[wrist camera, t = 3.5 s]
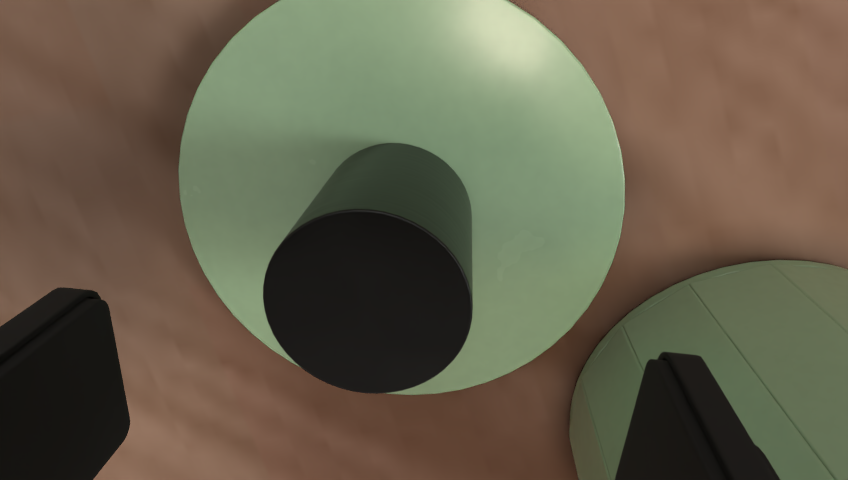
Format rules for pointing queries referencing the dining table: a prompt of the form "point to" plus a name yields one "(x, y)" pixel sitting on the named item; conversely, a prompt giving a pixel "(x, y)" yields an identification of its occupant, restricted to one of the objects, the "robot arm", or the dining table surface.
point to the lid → (402, 189)
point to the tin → (733, 364)
